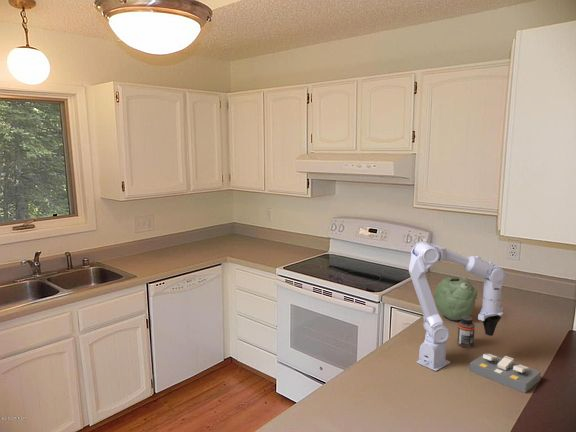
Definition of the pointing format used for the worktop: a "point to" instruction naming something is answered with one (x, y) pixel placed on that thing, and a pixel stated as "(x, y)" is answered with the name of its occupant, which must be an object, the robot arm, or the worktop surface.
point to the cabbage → (455, 297)
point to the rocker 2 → (505, 362)
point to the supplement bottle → (466, 332)
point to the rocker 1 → (490, 357)
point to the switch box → (505, 374)
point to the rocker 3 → (520, 368)
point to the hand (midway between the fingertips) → (489, 334)
